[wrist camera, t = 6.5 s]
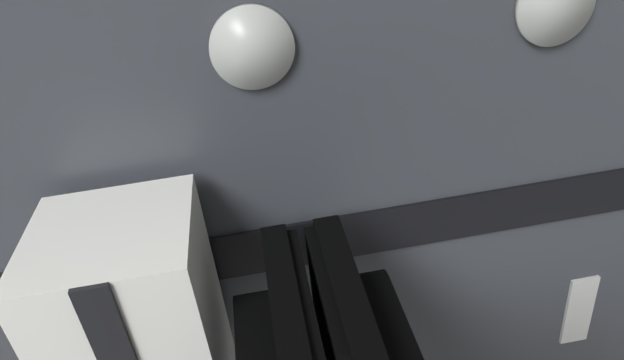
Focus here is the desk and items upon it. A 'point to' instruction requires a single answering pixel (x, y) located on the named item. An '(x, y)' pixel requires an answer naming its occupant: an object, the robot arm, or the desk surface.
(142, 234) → the fader
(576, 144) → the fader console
